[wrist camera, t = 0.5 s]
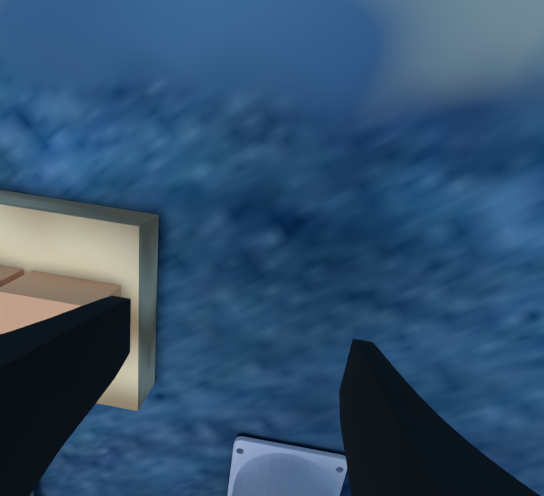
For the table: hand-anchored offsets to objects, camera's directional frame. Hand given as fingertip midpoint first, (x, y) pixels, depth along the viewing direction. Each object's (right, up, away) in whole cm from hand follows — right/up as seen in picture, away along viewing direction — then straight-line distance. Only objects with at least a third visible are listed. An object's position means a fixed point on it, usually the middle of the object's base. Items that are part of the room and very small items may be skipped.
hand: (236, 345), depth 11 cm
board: (-12, 0, +11) cm, 16 cm away
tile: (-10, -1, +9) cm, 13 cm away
